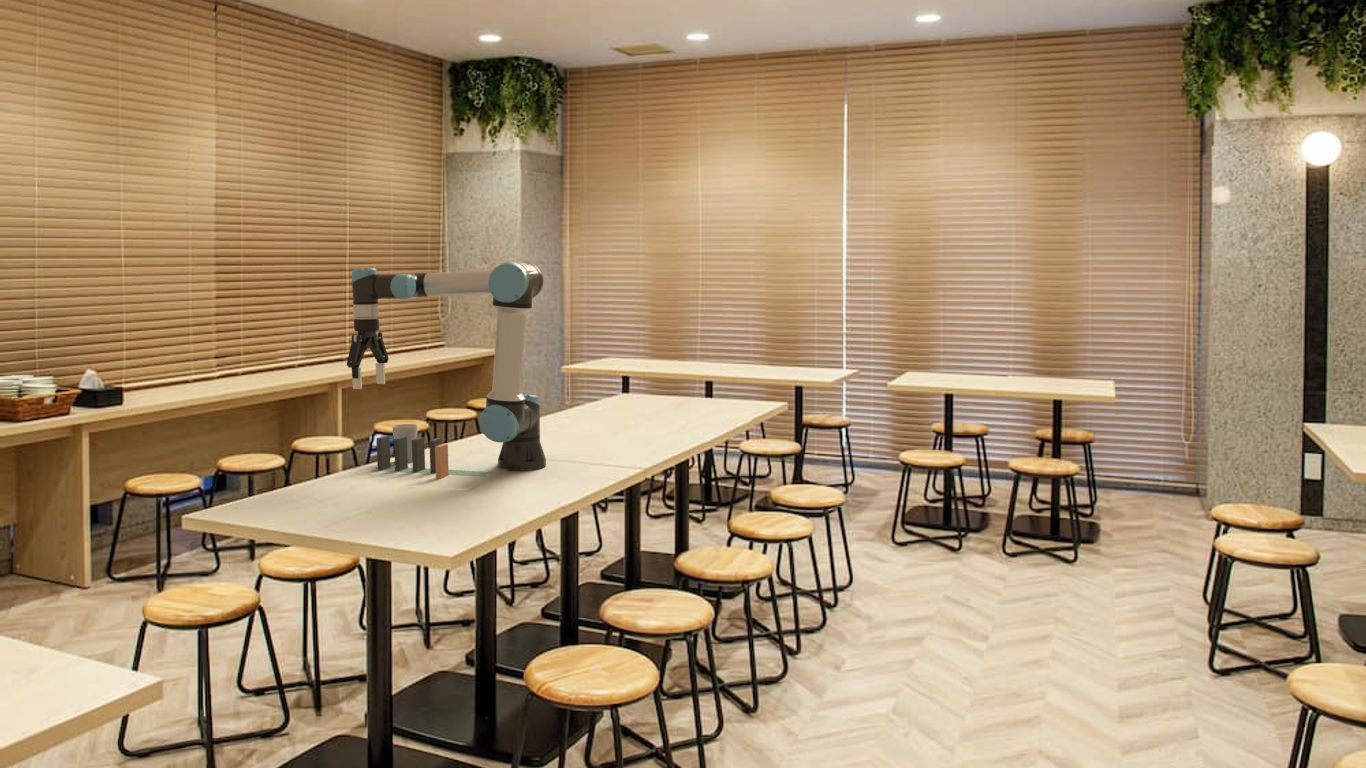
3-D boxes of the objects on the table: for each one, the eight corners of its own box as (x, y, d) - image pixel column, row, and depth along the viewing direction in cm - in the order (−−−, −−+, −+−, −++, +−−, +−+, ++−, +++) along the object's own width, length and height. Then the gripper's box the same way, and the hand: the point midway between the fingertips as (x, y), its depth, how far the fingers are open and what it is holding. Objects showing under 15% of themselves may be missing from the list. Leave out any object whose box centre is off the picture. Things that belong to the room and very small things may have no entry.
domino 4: (442, 470, 334) (441, 438, 333) (435, 473, 330) (434, 440, 328) (438, 469, 335) (437, 438, 334) (430, 472, 330) (429, 440, 329)
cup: (412, 465, 344) (411, 428, 343) (389, 464, 346) (387, 427, 344) (423, 460, 352) (422, 424, 351) (400, 459, 354) (399, 423, 352)
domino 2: (407, 468, 337) (406, 436, 336) (399, 471, 332) (398, 439, 331) (403, 468, 338) (402, 436, 337) (395, 471, 333) (394, 439, 332)
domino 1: (390, 467, 339) (389, 435, 338) (382, 470, 334) (381, 438, 333) (385, 467, 339) (384, 435, 338) (377, 470, 334) (376, 438, 333)
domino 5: (448, 476, 326) (447, 444, 325) (440, 480, 321) (440, 447, 320) (443, 476, 327) (442, 443, 325) (436, 479, 322) (435, 446, 321)
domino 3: (425, 469, 336) (424, 437, 335) (417, 472, 331) (416, 440, 330) (420, 468, 336) (419, 437, 335) (412, 472, 331) (411, 439, 330)
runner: (493, 473, 331) (493, 472, 331) (484, 477, 324) (484, 476, 324) (382, 467, 341) (382, 466, 341) (371, 471, 334) (371, 470, 334)
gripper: (376, 316, 347) (379, 381, 349) (332, 320, 323) (336, 390, 325) (397, 316, 345) (400, 381, 347) (354, 320, 321) (358, 391, 323)
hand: (369, 386), depth 336 cm, fingers open, 13 cm apart
